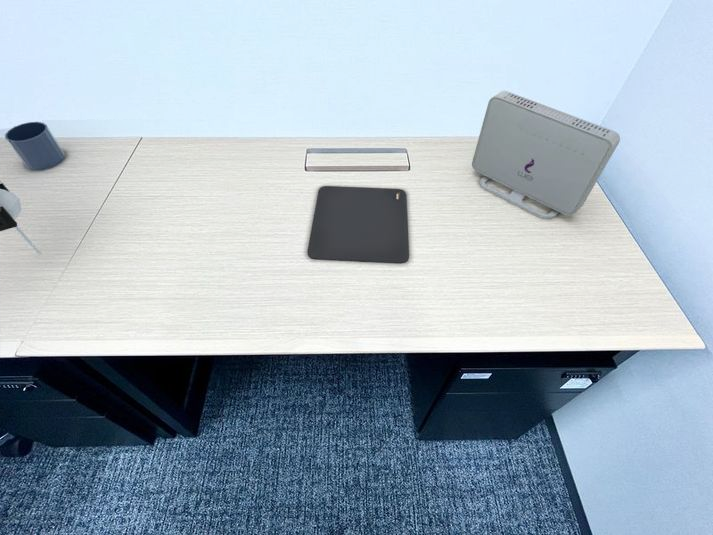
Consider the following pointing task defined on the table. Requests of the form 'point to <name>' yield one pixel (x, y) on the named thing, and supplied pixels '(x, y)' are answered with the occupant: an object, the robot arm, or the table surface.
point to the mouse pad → (360, 225)
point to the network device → (541, 154)
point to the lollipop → (14, 210)
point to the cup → (35, 145)
